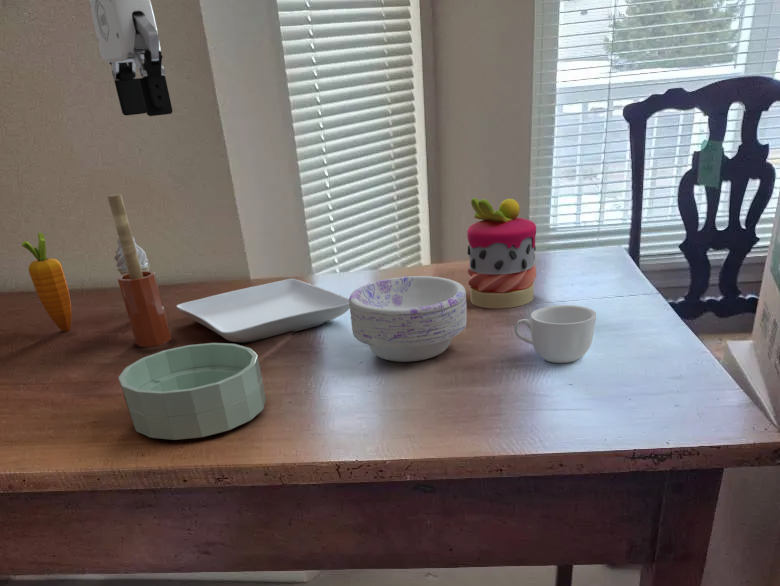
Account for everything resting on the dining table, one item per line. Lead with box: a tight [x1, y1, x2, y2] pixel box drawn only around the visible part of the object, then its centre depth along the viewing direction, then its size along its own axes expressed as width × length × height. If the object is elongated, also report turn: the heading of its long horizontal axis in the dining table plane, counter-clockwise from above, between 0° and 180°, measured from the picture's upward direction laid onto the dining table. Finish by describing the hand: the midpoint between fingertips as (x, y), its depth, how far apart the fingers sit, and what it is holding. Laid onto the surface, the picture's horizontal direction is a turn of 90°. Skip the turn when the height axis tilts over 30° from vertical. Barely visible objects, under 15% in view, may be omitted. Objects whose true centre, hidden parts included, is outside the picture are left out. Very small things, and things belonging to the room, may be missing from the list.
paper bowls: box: [348, 275, 468, 363], centre depth 96 cm, size 15×15×8 cm
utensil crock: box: [117, 270, 172, 348], centre depth 106 cm, size 5×5×10 cm
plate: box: [176, 278, 350, 343], centre depth 113 cm, size 21×21×3 cm
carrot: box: [21, 232, 73, 332], centre depth 113 cm, size 5×5×15 cm
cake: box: [466, 197, 537, 310], centre depth 111 cm, size 10×11×15 cm
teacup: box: [514, 304, 597, 364], centre depth 91 cm, size 10×8×5 cm
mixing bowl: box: [117, 342, 267, 441], centre depth 84 cm, size 15×15×6 cm
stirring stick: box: [107, 193, 143, 279], centre depth 103 cm, size 2×2×20 cm
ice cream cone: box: [114, 235, 151, 276], centre depth 117 cm, size 5×5×15 cm
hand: (147, 114), depth 95 cm, fingers open, 9 cm apart
